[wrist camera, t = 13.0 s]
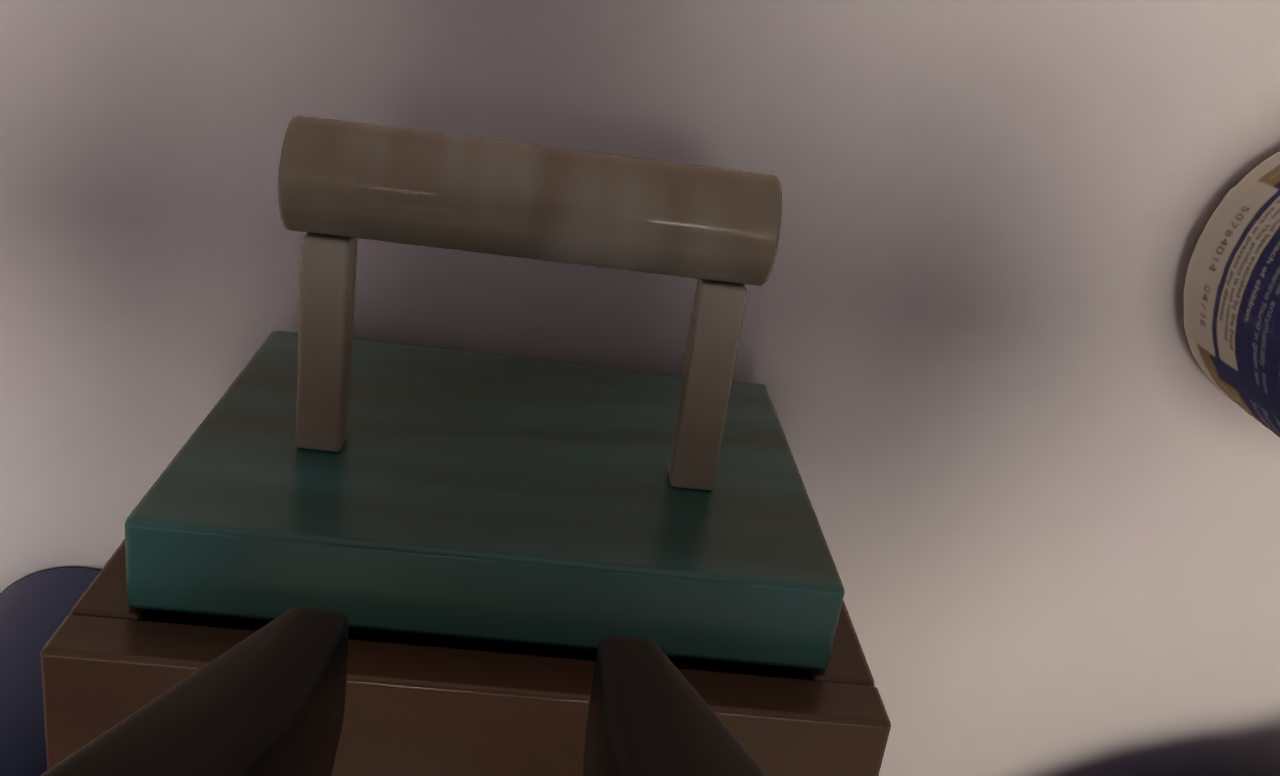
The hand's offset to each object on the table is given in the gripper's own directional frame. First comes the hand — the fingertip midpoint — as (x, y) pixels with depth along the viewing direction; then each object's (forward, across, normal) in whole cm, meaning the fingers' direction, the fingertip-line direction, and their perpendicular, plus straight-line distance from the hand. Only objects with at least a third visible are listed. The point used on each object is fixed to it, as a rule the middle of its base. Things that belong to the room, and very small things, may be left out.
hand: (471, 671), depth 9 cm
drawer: (+11, 0, +5) cm, 12 cm away
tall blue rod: (+12, +8, +9) cm, 17 cm away
